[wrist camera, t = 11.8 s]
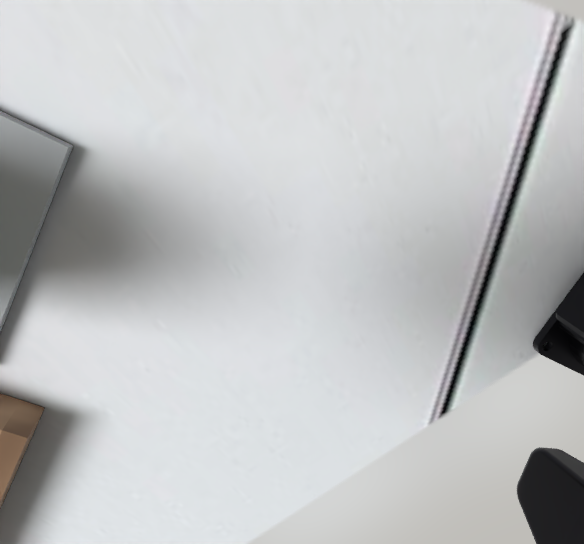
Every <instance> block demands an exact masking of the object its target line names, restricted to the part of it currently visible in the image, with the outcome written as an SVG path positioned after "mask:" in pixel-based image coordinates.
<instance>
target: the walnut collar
mask: <svg viewBox="0 0 584 544" xmlns="http://www.w3.org/2000/svg"><path fill="white" fill-rule="evenodd" d="M44 409H45V408H44V407H41V406H38V405H35V404H32V403H29V402H25V401H22V400H19V399H16V398H13V397H10V396H7V395H4V394H1V393H0V509H1V506H2V504H3V502H4V500H5V497H6V495H7V493H8V490H9V488H10V486H11V484H12V481H13V479H14V477H15V475H16V472H17V470H18V468H19V465H20V463H21V461H22V459H23V456H24V454H25V452H26V450H27V447H28V445H29V443H30V440H31V438H32V436H33V434H34V431H35V429H36V427H37V425H38V422H39V420H40V418H41V415H42V413H43V411H44Z"/></svg>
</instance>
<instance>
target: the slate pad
mask: <svg viewBox="0 0 584 544" xmlns="http://www.w3.org/2000/svg"><path fill="white" fill-rule="evenodd" d="M72 148H73V145H71V144H69V143H67V142H65V141H63V140H60V139H58V138H56V137H54V136H52V135H50V134H48V133H46V132H44V131H42V130H40V129H37V128H35V127H33V126H31V125H29V124H27V123H25V122H23V121H21V120H19V119H16V118H14V117H12V116H10V115H8V114H6V113H4V112H2V111H0V332H1V330H2V327H3V325H4V322H5V320H6V317H7V315H8V312H9V309H10V307H11V304H12V302H13V299H14V297H15V294H16V291H17V289H18V286H19V284H20V281H21V279H22V276H23V273H24V271H25V268H26V266H27V263H28V261H29V258H30V255H31V253H32V250H33V248H34V245H35V243H36V240H37V238H38V235H39V232H40V230H41V227H42V225H43V222H44V220H45V217H46V214H47V212H48V209H49V207H50V204H51V202H52V199H53V196H54V194H55V191H56V189H57V186H58V184H59V181H60V178H61V176H62V173H63V171H64V168H65V166H66V163H67V161H68V158H69V155H70V153H71V150H72Z"/></svg>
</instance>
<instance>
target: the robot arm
mask: <svg viewBox="0 0 584 544" xmlns="http://www.w3.org/2000/svg"><path fill="white" fill-rule="evenodd" d="M546 342H547V344H546V345H545V346H543V345H544V344H545V343H546ZM533 347H534V349H535V350H536V351H538V352H539V353H540V354H541V355H543V356H545V357H547V358H549V359H551V360H553V361H555V362H557V363H559V364H562V365H564V366H565V367H568V368H570V369H572V370H574V371H576V372H578V373H580V374H582V375H584V273H583V274H582V276H581V277H580V278H579V280H578V281H577V282H576V284H575V285H574V286H573V288H572V289H571V290H570V292H569V293H568V295H567V296H566V297H565V299H564V300H563V301H562V303H561V304H560V305H559V307H558V308H557V309H556V311H555V312H554V313H553V315H552V316H551V317H550V319H549V320H548V322H547V323H546V324H545V326H544V327H543V328H542V330H541V331H540V332H539V334H538V335H537V336H536V338H535V339H534V341H533ZM517 494H518V499H519V502H520V504H521V507H522V509H523V512H524V514H525V517H526V519H527V522H528V524H529V527H530V529H531V531H532V534H533V536H534V539H535V541H536V544H584V463H583V462H581V461H579V460H577V459H576V458H574V457H572V456H571V455H569V454H567V453H565V452H564V451H562V450H559V449H552V448H537V449H535V450H534V451H533V452H532V453H531V455H530V457H529V459H528V461H527V464H526V466H525V468H524V471H523V473H522V475H521V477H520V480H519V482H518V485H517Z"/></svg>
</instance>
